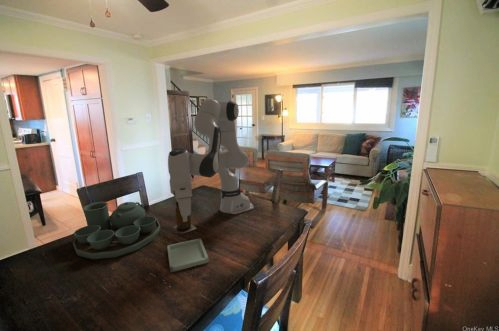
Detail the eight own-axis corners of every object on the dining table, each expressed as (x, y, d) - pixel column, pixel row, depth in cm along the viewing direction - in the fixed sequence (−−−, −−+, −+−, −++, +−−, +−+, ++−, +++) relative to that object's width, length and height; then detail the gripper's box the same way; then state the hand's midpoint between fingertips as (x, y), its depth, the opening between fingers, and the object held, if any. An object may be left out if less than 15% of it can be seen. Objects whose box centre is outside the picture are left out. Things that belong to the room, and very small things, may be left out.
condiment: (188, 222, 109) (186, 197, 106) (196, 228, 102) (194, 203, 100) (173, 227, 104) (170, 201, 102) (180, 234, 98) (178, 207, 95)
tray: (200, 241, 119) (200, 238, 118) (209, 262, 102) (208, 258, 102) (167, 249, 113) (167, 245, 112) (170, 272, 96) (170, 268, 96)
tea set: (59, 268, 101) (50, 233, 97) (91, 225, 138) (86, 199, 134) (157, 251, 111) (153, 219, 107) (163, 216, 149) (160, 191, 145)
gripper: (171, 181, 108) (174, 209, 111) (175, 196, 90) (179, 229, 93) (185, 179, 110) (187, 207, 114) (192, 193, 92) (195, 226, 95)
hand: (183, 217), depth 103 cm, fingers closed on condiment, 6 cm apart
